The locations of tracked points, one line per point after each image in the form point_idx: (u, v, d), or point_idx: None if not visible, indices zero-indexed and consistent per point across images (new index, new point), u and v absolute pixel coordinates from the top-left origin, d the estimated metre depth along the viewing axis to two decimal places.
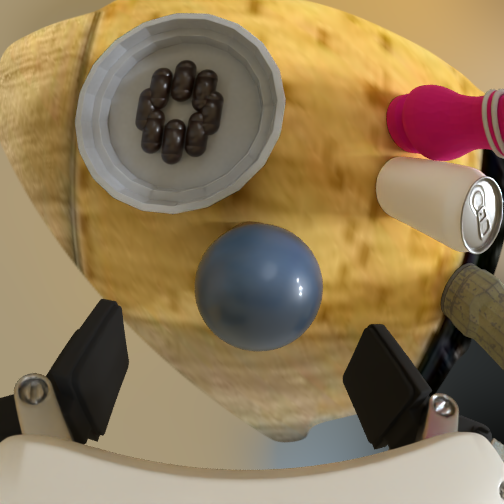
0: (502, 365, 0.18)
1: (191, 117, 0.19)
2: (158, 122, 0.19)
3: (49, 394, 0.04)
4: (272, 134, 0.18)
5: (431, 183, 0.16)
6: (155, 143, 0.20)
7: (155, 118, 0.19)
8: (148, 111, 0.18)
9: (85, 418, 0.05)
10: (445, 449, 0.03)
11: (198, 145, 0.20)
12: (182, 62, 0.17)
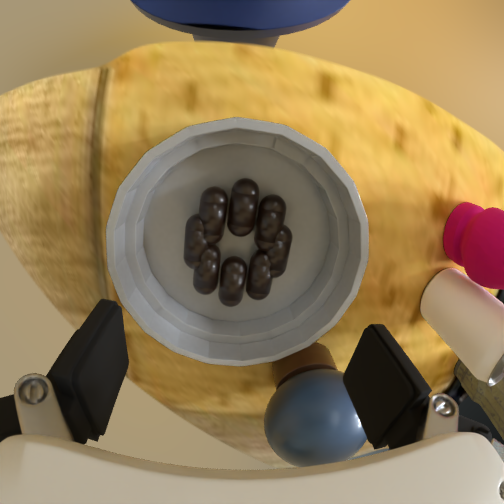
0: (498, 429, 0.17)
1: (255, 260, 0.18)
2: (215, 264, 0.18)
3: (49, 394, 0.04)
4: (349, 295, 0.17)
5: (477, 332, 0.15)
6: (212, 287, 0.19)
7: (211, 260, 0.18)
8: (201, 251, 0.18)
9: (85, 418, 0.05)
10: (445, 449, 0.03)
11: (264, 293, 0.19)
12: (242, 186, 0.16)
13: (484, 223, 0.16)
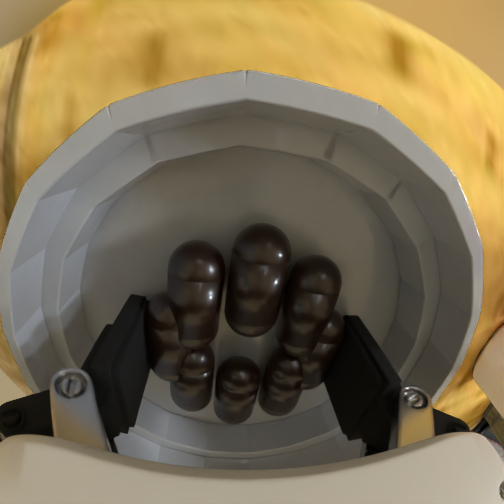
0: None
1: (278, 371, 0.09)
2: (205, 378, 0.09)
3: (89, 387, 0.05)
4: None
5: None
6: (203, 405, 0.10)
7: (197, 375, 0.09)
8: (178, 362, 0.09)
9: (119, 411, 0.06)
10: (445, 449, 0.03)
11: (288, 410, 0.10)
12: (257, 246, 0.07)
13: None
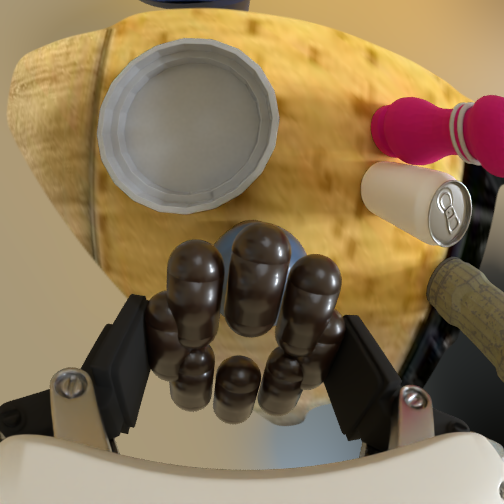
0: (483, 351, 0.22)
1: (277, 371, 0.09)
2: (204, 378, 0.09)
3: (89, 387, 0.05)
4: (268, 147, 0.22)
5: (405, 186, 0.20)
6: (203, 404, 0.10)
7: (197, 375, 0.09)
8: (178, 361, 0.09)
9: (119, 411, 0.06)
10: (445, 449, 0.03)
11: (288, 410, 0.10)
12: (257, 246, 0.07)
13: (395, 104, 0.20)
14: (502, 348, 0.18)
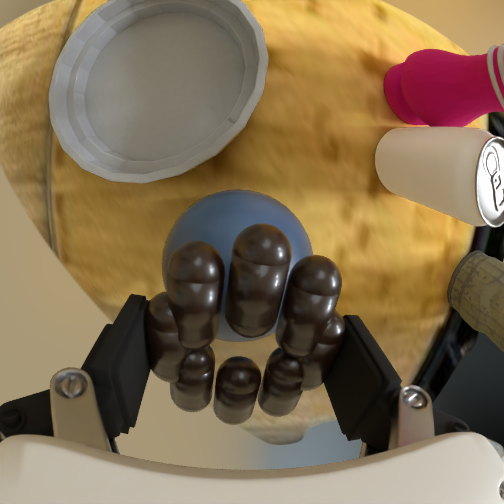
0: None
1: (278, 372, 0.09)
2: (205, 379, 0.09)
3: (89, 387, 0.05)
4: (254, 92, 0.15)
5: (437, 146, 0.13)
6: (203, 405, 0.10)
7: (197, 375, 0.09)
8: (178, 362, 0.09)
9: (119, 411, 0.06)
10: (445, 449, 0.03)
11: (288, 410, 0.10)
12: (257, 247, 0.07)
13: (414, 54, 0.14)
14: None
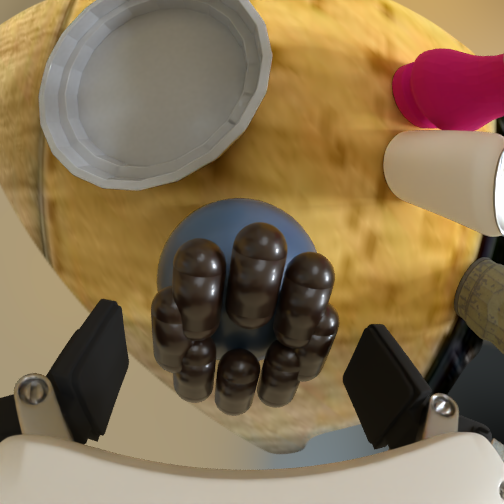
0: None
1: (275, 362, 0.10)
2: (207, 369, 0.10)
3: (49, 394, 0.04)
4: (256, 92, 0.14)
5: (452, 151, 0.12)
6: (205, 396, 0.10)
7: (200, 365, 0.10)
8: (182, 353, 0.09)
9: (85, 418, 0.05)
10: (445, 449, 0.03)
11: (286, 401, 0.11)
12: (256, 243, 0.08)
13: (424, 54, 0.12)
14: None
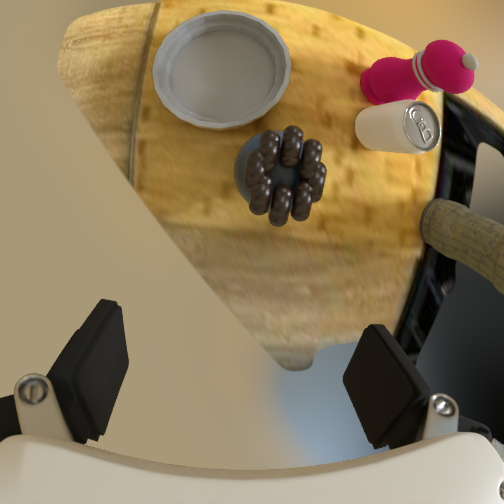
0: (477, 267, 0.27)
1: (300, 186, 0.23)
2: (269, 187, 0.23)
3: (49, 394, 0.04)
4: (283, 83, 0.27)
5: (385, 111, 0.25)
6: (266, 207, 0.23)
7: (267, 184, 0.23)
8: (260, 176, 0.22)
9: (85, 419, 0.05)
10: (445, 449, 0.03)
11: (306, 213, 0.24)
12: (292, 129, 0.21)
13: (377, 61, 0.25)
14: (493, 256, 0.23)
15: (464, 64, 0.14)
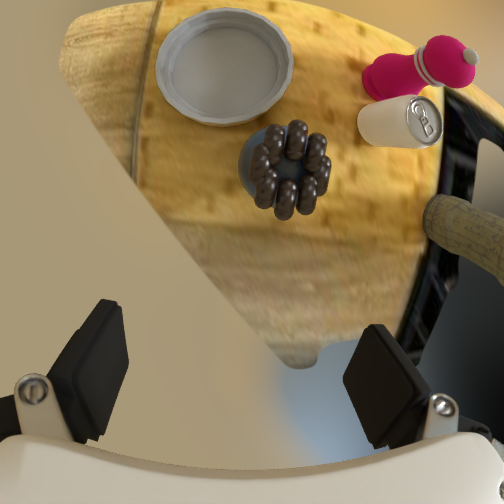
0: (481, 261, 0.26)
1: (305, 179, 0.23)
2: (275, 181, 0.23)
3: (49, 394, 0.04)
4: (286, 79, 0.27)
5: (388, 106, 0.24)
6: (271, 201, 0.23)
7: (272, 177, 0.22)
8: (265, 169, 0.22)
9: (85, 418, 0.05)
10: (445, 449, 0.03)
11: (311, 206, 0.24)
12: (297, 123, 0.21)
13: (378, 57, 0.25)
14: (496, 249, 0.23)
15: (465, 59, 0.13)
